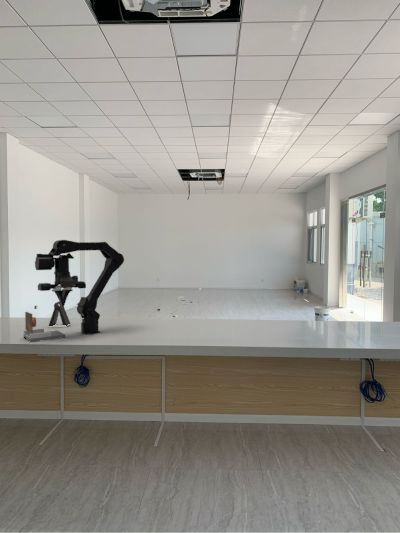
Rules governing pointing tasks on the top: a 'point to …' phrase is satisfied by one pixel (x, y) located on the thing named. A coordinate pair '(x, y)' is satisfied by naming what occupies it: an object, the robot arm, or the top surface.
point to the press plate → (30, 322)
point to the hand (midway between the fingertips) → (62, 306)
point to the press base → (42, 335)
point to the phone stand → (63, 315)
